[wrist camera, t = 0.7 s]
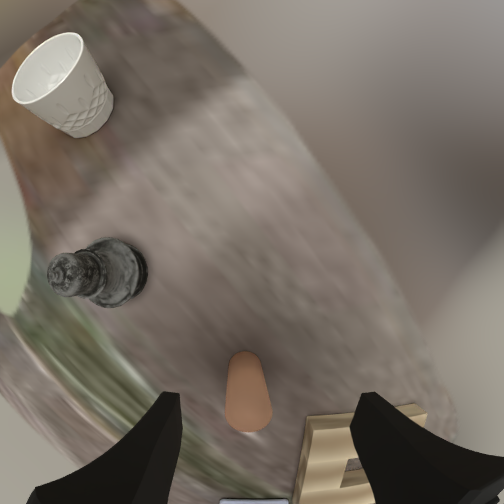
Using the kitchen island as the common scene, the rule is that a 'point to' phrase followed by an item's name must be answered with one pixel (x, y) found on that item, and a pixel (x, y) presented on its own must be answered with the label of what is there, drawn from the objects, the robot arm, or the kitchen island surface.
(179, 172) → the kitchen island surface
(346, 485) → the socket block
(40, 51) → the white cup
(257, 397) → the peg
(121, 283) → the chess piece
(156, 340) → the kitchen island surface
